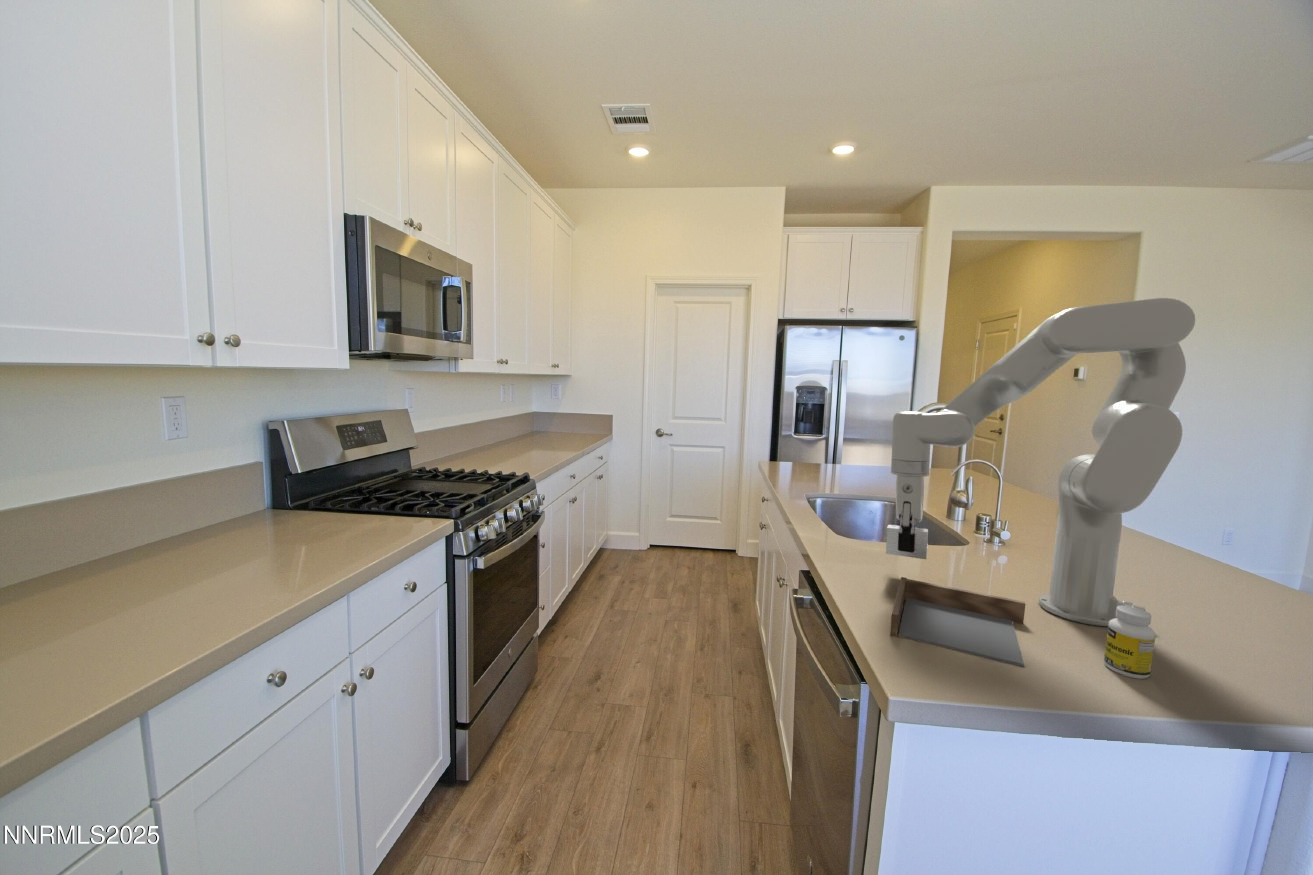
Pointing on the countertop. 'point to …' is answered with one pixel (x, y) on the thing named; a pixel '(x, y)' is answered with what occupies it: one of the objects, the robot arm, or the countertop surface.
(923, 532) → the aluminium bracket
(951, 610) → the slate mat
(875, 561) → the countertop surface
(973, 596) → the walnut corner walls
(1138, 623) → the supplement bottle
